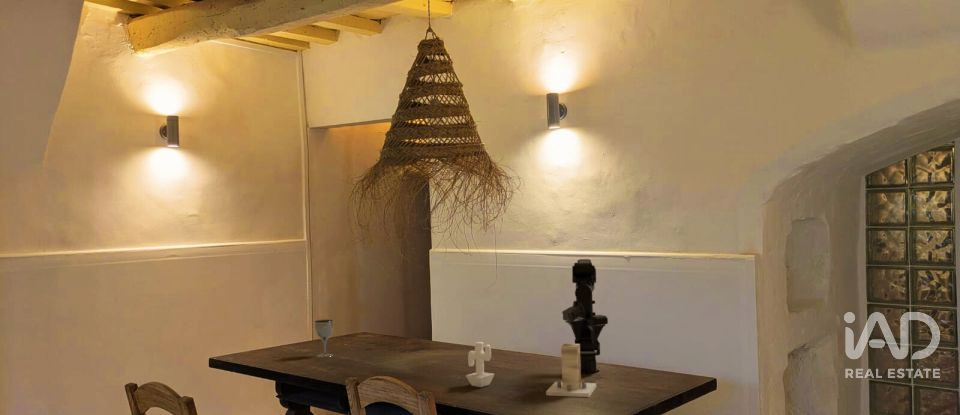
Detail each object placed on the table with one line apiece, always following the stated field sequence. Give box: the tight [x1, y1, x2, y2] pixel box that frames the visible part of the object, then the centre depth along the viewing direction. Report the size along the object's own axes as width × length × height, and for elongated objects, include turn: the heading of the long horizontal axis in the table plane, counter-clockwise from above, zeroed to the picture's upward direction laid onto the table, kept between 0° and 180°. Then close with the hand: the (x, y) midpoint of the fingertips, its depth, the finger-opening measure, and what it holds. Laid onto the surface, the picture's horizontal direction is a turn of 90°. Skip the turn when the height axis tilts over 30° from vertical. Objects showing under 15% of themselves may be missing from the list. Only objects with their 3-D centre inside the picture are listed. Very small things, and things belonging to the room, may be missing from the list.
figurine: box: [465, 341, 495, 388], centre depth 279 cm, size 7×9×15 cm
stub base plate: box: [545, 381, 597, 398], centre depth 266 cm, size 14×14×3 cm
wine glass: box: [313, 319, 334, 358], centre depth 343 cm, size 8×8×15 cm
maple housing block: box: [560, 343, 582, 390], centre depth 266 cm, size 5×5×14 cm
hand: (585, 342), depth 282 cm, fingers open, 9 cm apart
